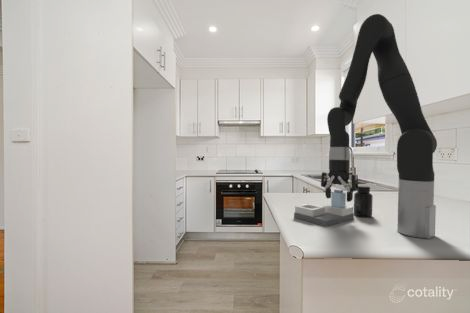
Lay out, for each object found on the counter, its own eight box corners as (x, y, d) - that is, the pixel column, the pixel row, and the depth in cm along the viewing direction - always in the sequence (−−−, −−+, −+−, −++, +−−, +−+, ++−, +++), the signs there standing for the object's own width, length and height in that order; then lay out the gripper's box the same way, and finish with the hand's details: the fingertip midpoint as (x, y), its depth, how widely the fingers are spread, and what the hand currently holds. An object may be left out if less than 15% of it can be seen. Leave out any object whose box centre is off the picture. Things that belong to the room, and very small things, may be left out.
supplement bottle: (375, 217, 99) (376, 187, 99) (358, 217, 99) (359, 187, 99) (366, 213, 106) (367, 185, 106) (350, 213, 106) (351, 185, 106)
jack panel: (353, 218, 98) (353, 206, 98) (326, 226, 86) (326, 213, 86) (322, 211, 109) (322, 201, 109) (294, 217, 98) (294, 206, 97)
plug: (345, 212, 98) (345, 190, 98) (340, 214, 96) (340, 191, 96) (336, 211, 101) (336, 188, 101) (331, 212, 99) (331, 189, 99)
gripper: (362, 159, 95) (361, 201, 95) (328, 158, 106) (327, 196, 106) (352, 159, 90) (351, 204, 90) (317, 158, 101) (317, 198, 102)
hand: (338, 199), depth 98 cm, fingers open, 8 cm apart
